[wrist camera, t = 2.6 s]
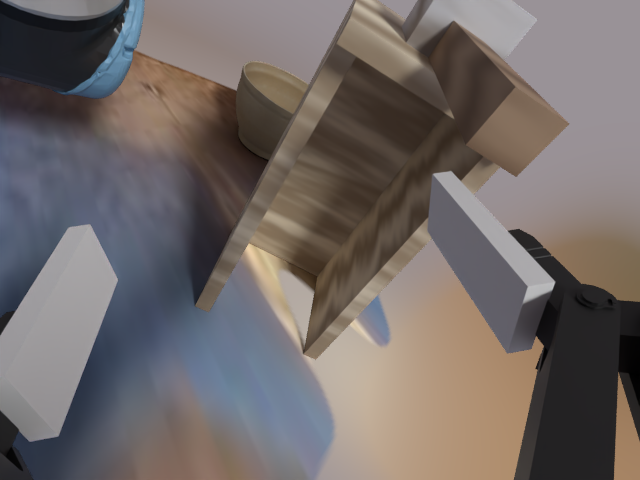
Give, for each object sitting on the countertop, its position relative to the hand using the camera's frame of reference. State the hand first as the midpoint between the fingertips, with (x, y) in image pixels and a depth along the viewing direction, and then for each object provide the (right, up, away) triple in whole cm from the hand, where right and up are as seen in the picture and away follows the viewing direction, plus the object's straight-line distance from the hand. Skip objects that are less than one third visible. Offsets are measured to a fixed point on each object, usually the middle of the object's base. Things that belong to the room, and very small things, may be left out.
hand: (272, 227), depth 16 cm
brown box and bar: (+10, +8, +8) cm, 15 cm away
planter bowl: (-8, +16, +55) cm, 57 cm away
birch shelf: (-4, -7, +31) cm, 32 cm away
